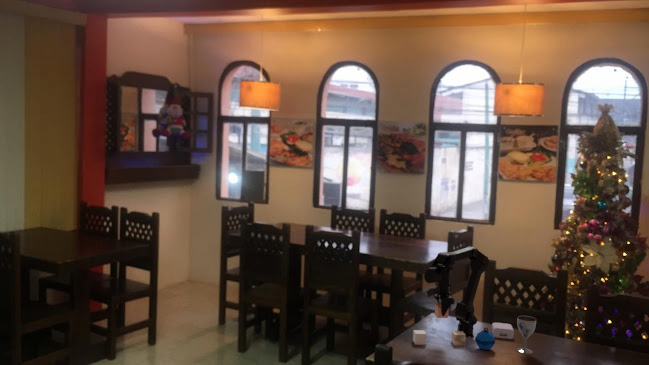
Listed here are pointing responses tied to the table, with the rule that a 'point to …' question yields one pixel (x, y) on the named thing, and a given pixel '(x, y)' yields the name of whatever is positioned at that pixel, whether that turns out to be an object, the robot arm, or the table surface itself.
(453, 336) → the birch block
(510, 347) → the table surface
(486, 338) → the ornament
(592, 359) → the table surface
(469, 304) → the robot arm
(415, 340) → the grey block
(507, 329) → the charger
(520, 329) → the wine glass
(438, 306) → the terracotta block
